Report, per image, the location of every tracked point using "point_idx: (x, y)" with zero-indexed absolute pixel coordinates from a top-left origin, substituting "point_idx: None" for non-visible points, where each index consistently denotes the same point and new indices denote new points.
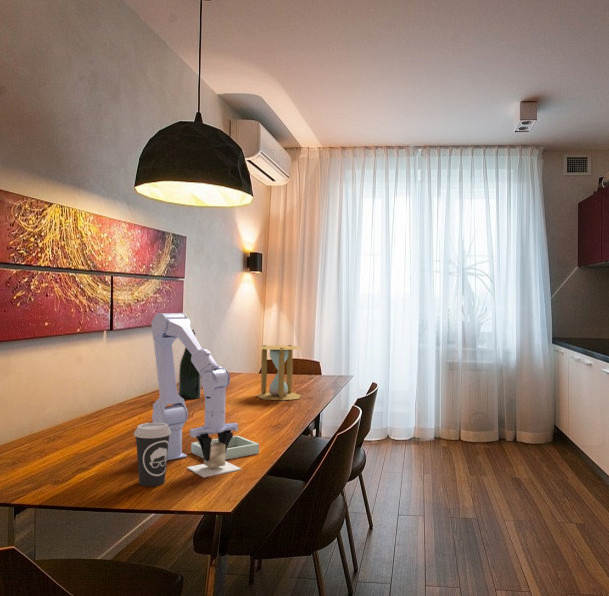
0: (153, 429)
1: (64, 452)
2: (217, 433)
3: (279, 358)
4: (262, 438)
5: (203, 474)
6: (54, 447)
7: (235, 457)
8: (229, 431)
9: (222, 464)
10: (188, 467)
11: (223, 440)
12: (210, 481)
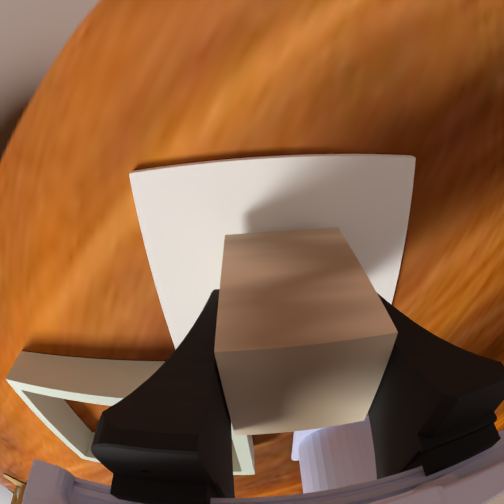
0: None
1: None
2: (233, 492)
3: None
4: (25, 426)
5: (400, 184)
6: None
7: (110, 360)
8: (128, 486)
9: (246, 238)
10: None
11: (218, 409)
12: (411, 69)
